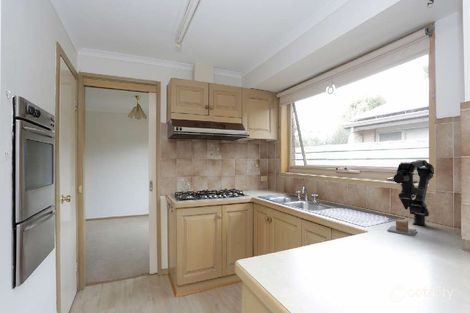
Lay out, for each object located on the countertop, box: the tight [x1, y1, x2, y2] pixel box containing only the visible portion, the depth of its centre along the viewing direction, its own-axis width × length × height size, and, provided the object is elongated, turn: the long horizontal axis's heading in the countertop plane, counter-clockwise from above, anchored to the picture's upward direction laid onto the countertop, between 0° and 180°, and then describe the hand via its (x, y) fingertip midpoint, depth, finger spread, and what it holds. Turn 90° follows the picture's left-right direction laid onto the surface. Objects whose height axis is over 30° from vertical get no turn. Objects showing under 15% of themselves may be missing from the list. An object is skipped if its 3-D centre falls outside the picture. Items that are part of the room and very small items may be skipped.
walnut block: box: [395, 218, 409, 231], centre depth 137 cm, size 5×5×5 cm
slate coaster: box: [387, 225, 418, 237], centre depth 137 cm, size 12×12×1 cm
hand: (407, 208), depth 145 cm, fingers open, 9 cm apart
